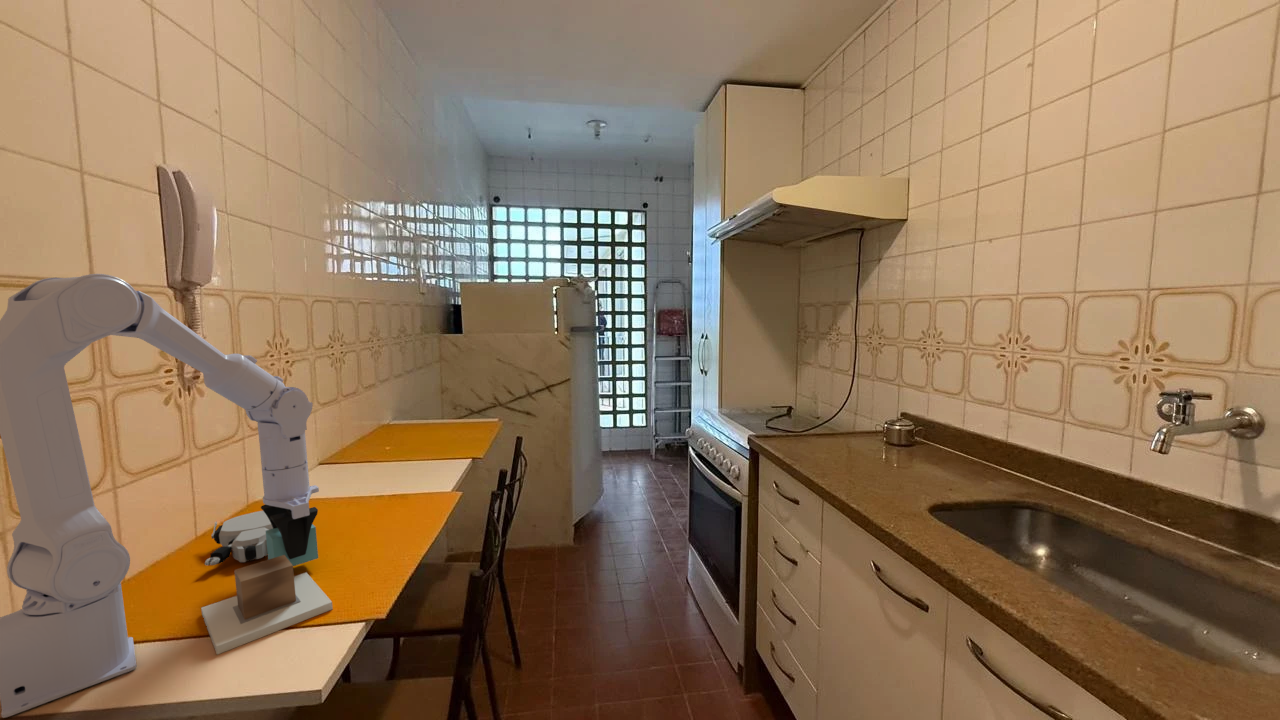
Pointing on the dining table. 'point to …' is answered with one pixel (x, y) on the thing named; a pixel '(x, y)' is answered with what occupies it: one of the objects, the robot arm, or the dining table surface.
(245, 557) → the robot toy
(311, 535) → the teal brick
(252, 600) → the walnut brick
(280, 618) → the build plate
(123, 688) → the dining table surface
